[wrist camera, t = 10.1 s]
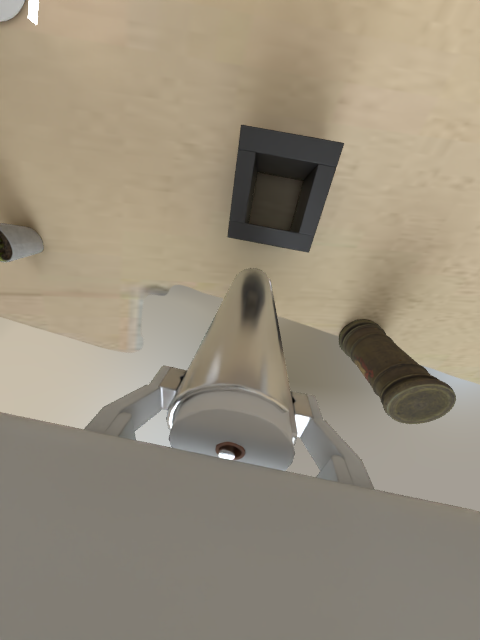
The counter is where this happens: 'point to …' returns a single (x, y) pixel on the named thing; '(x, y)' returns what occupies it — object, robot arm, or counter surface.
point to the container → (395, 375)
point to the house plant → (18, 242)
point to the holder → (286, 161)
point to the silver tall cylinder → (238, 383)
